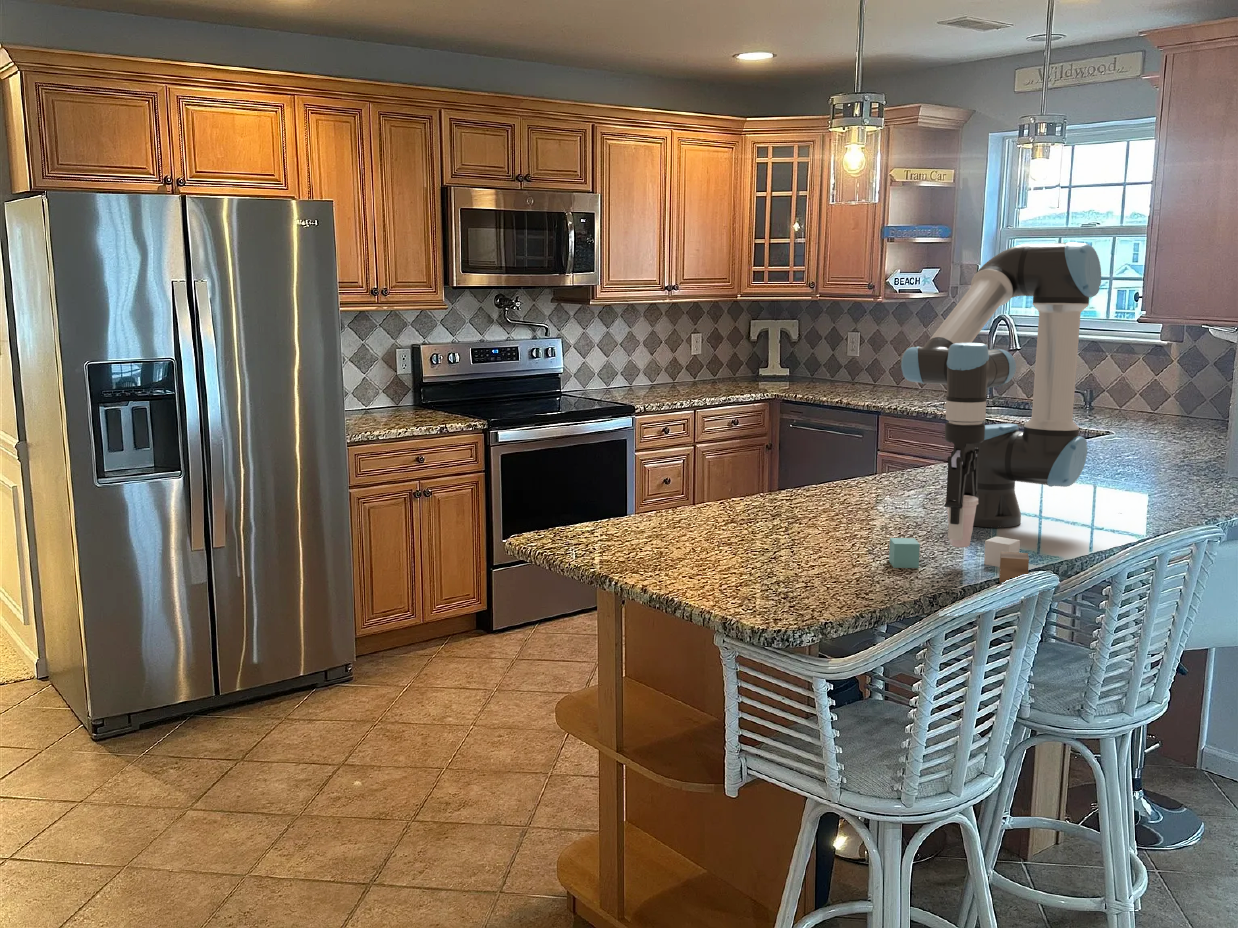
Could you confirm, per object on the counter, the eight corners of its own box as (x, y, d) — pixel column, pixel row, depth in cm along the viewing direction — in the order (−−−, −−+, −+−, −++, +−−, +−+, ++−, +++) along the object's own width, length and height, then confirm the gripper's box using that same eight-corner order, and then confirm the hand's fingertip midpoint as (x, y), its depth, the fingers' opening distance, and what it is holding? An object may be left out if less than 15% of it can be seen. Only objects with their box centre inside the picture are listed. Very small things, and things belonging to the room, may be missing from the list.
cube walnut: (999, 576, 209) (1000, 551, 208) (1026, 578, 207) (1028, 553, 207) (999, 583, 204) (1000, 557, 203) (1027, 585, 203) (1029, 559, 202)
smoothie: (938, 545, 216) (940, 477, 213) (950, 539, 221) (952, 472, 218) (969, 550, 212) (972, 481, 209) (981, 543, 217) (984, 475, 214)
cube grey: (994, 559, 221) (996, 536, 220) (1018, 564, 218) (1020, 540, 217) (984, 564, 218) (985, 540, 217) (1007, 569, 214) (1009, 544, 213)
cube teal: (888, 561, 220) (889, 537, 219) (913, 561, 220) (914, 538, 219) (893, 568, 215) (894, 543, 214) (918, 568, 215) (919, 544, 214)
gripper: (960, 414, 221) (955, 523, 226) (931, 427, 206) (926, 543, 210) (997, 417, 217) (992, 527, 222) (970, 429, 202) (965, 548, 206)
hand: (960, 535), depth 216 cm, fingers closed on smoothie, 6 cm apart
